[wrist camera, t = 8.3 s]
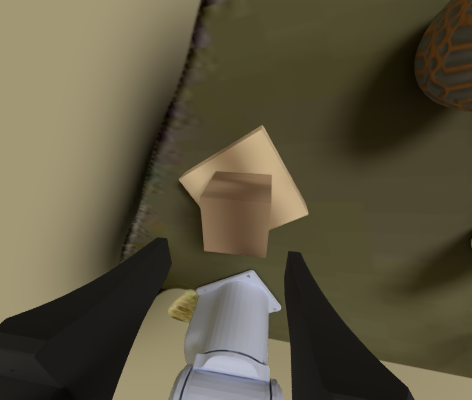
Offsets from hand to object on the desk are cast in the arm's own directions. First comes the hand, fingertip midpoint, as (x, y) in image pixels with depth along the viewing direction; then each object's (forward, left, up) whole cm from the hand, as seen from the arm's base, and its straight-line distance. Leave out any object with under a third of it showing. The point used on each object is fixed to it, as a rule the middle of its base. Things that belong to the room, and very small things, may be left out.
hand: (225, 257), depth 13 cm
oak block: (0, 0, -11) cm, 11 cm away
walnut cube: (0, -1, -9) cm, 9 cm away
